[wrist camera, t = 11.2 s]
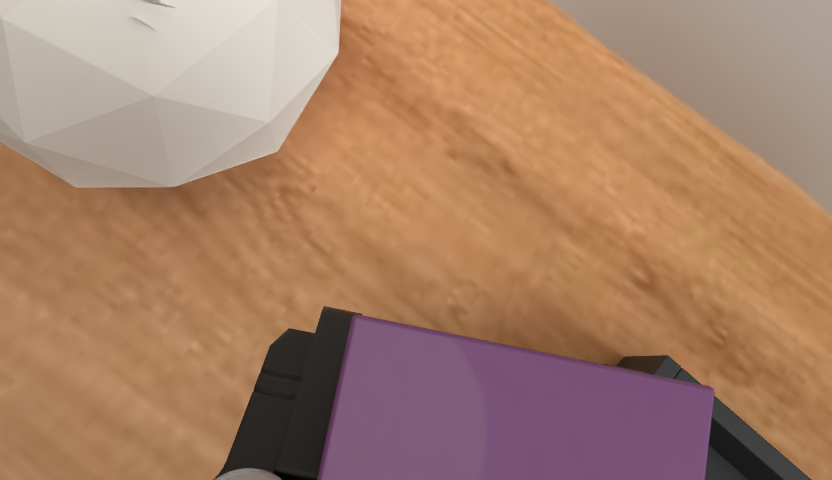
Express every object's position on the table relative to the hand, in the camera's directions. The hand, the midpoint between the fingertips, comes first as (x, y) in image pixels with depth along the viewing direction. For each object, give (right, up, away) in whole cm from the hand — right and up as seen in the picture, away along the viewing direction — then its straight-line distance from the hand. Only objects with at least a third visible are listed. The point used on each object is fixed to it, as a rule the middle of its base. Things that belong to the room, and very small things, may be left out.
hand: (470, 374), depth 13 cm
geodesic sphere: (-11, +10, +18) cm, 23 cm away
